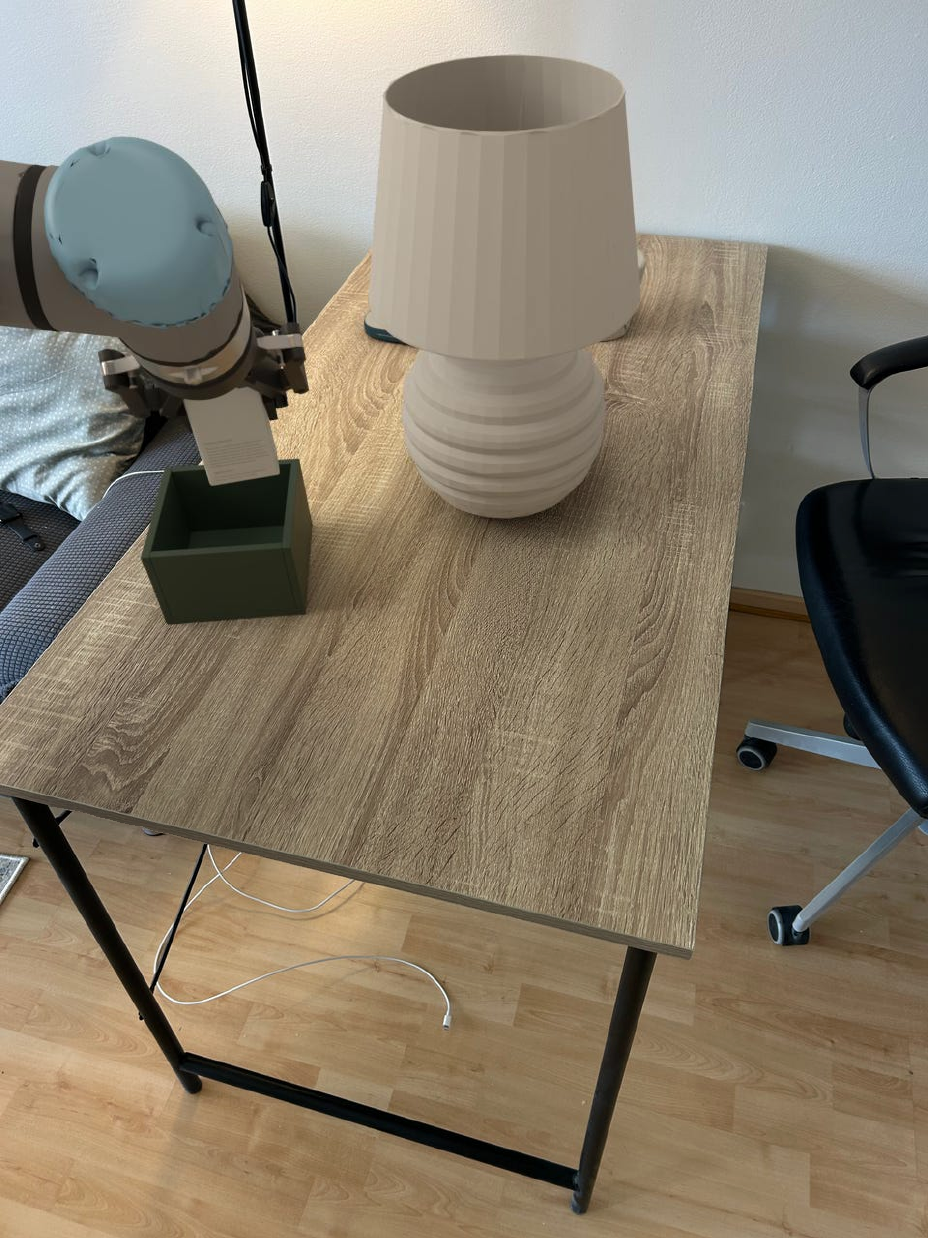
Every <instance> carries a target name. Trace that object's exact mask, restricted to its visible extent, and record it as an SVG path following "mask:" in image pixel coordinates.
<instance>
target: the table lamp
mask: <svg viewBox="0 0 928 1238" xmlns="http://www.w3.org/2000/svg"><path fill="white" fill-rule="evenodd" d="M626 94H627V90H626V88H625V87H624V85H623V83H622V81H621V80H620V79H619V78H618V77H617V76H616V74H614V73H613V72H612V71H611V70H607V69H605V68H603V67H599V66H597V65H593V64H590V63H587V62H583V61H579V60H576V59H573V58H567V57H566V58H564V57H555V56H546V55H533V54H532V55H531V54H521V53H520V54H519V53H517V54H516V53H513V54H494V55H481V56H470V57H469V56H468V57H458V58H454V59H449V60H444V61H439V62H436V63H431V64H426V65H424V66H421V67H419V68H417V69H413V70H412V71H409V72H406V73H404V74H403V75H401V76H399V77H397V78H395V79H394V80H391V81H390V83H389V84H388V85H387V88H386V89H385V90H384V92H383V93H382V115H381V129H380V140H379V141H380V142H379V144H380V145H379V154H378V166H377V167H378V168H377V181H376V194H375V207H374V220H373V221H374V222H373V223H374V224H373V234H372V246H371V259H370V270H369V271H370V274H369V285H368V296H367V297H368V299H367V302H368V306H369V309H370V310H371V312H372V315H373V316H374V318H375V319H376V320H377V322H378V323H379V325H380V326H381V327H383V328H384V329H385V330H386V331H387V332H389V333H390V334H391V335H392V336H394V337H396V338H398V339H399V340H401V341H403V342H405V343H404V344H407V345H409V346H411V347H413V348H417V349H420V350H419V352H418V354H417V355H416V357H415V360H414V363H412V365H411V366H410V368H409V370H408V371H407V373H406V375H405V378H404V381H403V388H402V404H401V405H402V406H401V413H400V414H401V417H400V420H401V421H400V422H401V424H402V427H403V439H404V443H405V447H406V450H407V454H408V455H409V457H410V458H411V460H412V461H413V463H414V465H415V467H416V470H417V472H418V474H419V476H420V478H421V479H422V480H423V482H424V483H425V484H426V485H427V486H428V487H429V488H430V489H431V490H432V491H433V492H435V493H437V495H438V496H440V498H441V499H443V500H444V502H446V503H447V504H449V505H451V506H452V507H453V508H456V509H458V510H460V511H462V512H465V513H468V514H472V515H474V516H479V517H484V518H491V519H505V520H507V519H513V518H522V517H529V516H532V515H535V514H537V513H540V512H543V511H546V510H547V509H550V508H552V507H554V506H556V505H557V504H558V503H560V502H561V501H562V500H564V498H566V497H567V496H568V495H569V494H570V493H571V492H572V491H574V490H575V489H576V488H577V487H579V485H580V484H581V483H582V482H583V481H584V479H585V478H586V477H587V475H588V474H589V471H590V469H591V467H592V466H591V465H592V464H593V462H594V461H595V459H596V458H597V457H598V455H599V453H600V450H601V447H602V444H603V440H604V428H605V427H604V426H605V424H606V421H607V406H606V400H605V391H606V390H605V389H606V388H605V381H604V378H603V374H602V372H601V371H600V369H599V367H598V365H597V364H596V362H595V361H594V359H593V356H592V355H591V353H590V351H589V349H588V347H590V346H593V345H597V344H598V343H600V342H603V341H602V340H604V339H605V338H607V337H609V336H611V335H613V334H614V333H616V332H617V331H618V330H619V329H620V328H622V327H623V326H624V325H625V324H627V322H628V321H629V320H630V319H631V320H632V318H633V316H635V313H636V312H637V309H638V306H639V304H640V300H641V284H640V280H639V267H638V255H637V249H638V244H637V243H638V242H637V233H636V232H637V231H636V230H637V229H636V218H635V205H634V194H633V193H634V192H633V180H632V179H633V177H632V165H631V155H630V154H631V153H630V141H629V130H628V129H629V128H628V116H627V103H626Z"/></svg>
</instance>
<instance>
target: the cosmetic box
mask: <svg viewBox="0 0 928 1238" xmlns="http://www.w3.org/2000/svg"><path fill="white" fill-rule="evenodd" d="M183 402H184V406H185V409H186V412H187V415H188V418H189V421H190V424H191V427H192V430H193V433H192V434H193V436H194V439H195V442H196V446H197V449H198V451H199V455H200V458H201V460H202V465H204V467H205V470H206V474H207V477H208V480H209V483H210V485H212V486H213V485H220V484H226V483H231V482H237V481H243V480H249V479H255V478H261V477H266V476H272V475H278V474H280V470H279V463H278V460H279V457H278V451H277V446H276V443H275V439H274V436H273V435H274V434H273V431H272V427H271V423H270V421H269V418H268V415H267V411H266V409H265V406H264V403H263V398H262V394H261V393H259V392H257V391H255V390H253V389H251V388H249V387H244V388H240V389H238V388H235V389H233V390H232V391H230V392H229V393H227V394H225V395H223V396H220V397H218V398H214V399H210V400H188V399H184V400H183Z"/></svg>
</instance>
